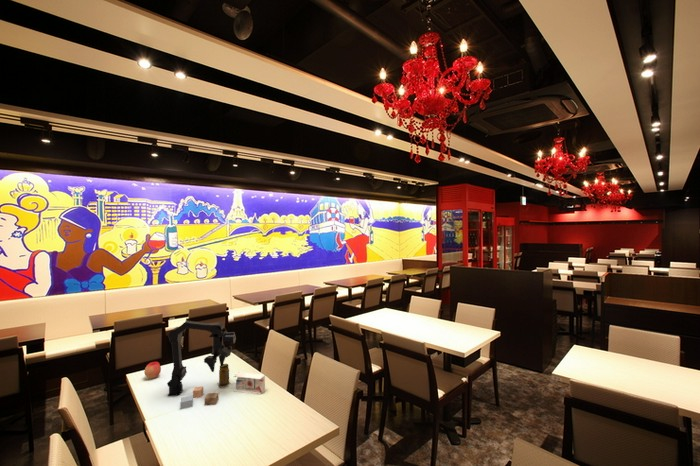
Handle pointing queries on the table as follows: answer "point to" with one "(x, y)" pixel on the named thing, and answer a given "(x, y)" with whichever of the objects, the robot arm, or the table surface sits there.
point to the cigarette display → (250, 383)
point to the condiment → (224, 376)
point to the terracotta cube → (198, 392)
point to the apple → (152, 370)
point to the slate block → (186, 402)
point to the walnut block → (211, 399)
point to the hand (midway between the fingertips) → (217, 368)
